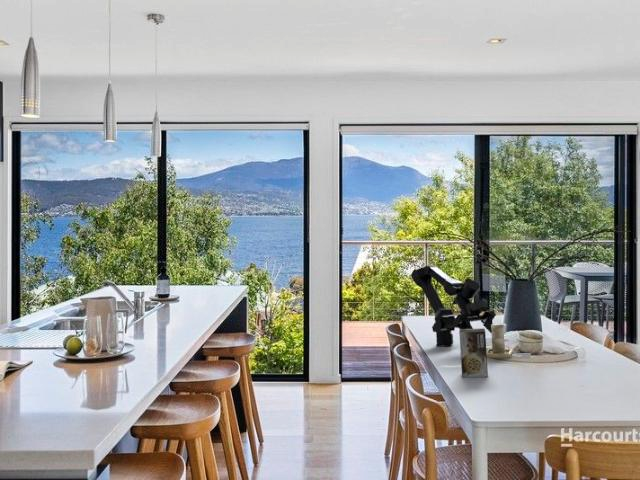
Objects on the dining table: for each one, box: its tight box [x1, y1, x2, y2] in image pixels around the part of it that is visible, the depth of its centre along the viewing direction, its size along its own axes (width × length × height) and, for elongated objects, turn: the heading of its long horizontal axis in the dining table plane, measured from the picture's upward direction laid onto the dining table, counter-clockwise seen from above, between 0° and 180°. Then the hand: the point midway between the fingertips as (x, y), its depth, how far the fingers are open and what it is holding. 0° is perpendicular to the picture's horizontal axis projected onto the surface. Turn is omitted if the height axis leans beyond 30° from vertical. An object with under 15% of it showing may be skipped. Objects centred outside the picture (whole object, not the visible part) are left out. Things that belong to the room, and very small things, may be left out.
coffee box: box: [459, 327, 489, 378], centre depth 237 cm, size 9×6×16 cm
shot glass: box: [493, 322, 507, 335], centre depth 305 cm, size 7×7×7 cm
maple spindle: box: [491, 323, 507, 353], centre depth 266 cm, size 6×6×12 cm
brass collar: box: [486, 349, 513, 359], centre depth 266 cm, size 10×10×2 cm
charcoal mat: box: [487, 352, 532, 360], centre depth 271 cm, size 24×24×1 cm
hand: (484, 335), depth 273 cm, fingers open, 9 cm apart
